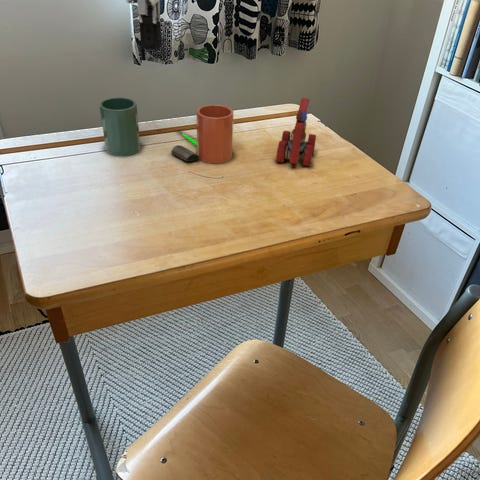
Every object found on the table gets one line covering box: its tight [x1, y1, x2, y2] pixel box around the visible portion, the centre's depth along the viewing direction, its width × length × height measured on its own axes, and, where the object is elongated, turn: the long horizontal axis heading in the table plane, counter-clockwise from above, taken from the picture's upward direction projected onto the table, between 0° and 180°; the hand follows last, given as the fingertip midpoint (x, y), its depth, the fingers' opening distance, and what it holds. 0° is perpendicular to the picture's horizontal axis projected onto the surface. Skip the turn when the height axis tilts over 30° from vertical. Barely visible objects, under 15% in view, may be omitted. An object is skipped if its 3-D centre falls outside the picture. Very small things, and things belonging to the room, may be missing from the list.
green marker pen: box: [180, 132, 197, 147], centre depth 108 cm, size 1×14×1 cm, turn 35°
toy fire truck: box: [276, 97, 317, 167], centre depth 102 cm, size 7×12×10 cm, turn 168°
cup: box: [196, 104, 235, 164], centre depth 102 cm, size 7×7×9 cm
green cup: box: [98, 96, 141, 157], centre depth 102 cm, size 7×7×9 cm
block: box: [171, 144, 200, 162], centre depth 103 cm, size 4×6×2 cm, turn 40°
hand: (151, 47), depth 88 cm, fingers closed
